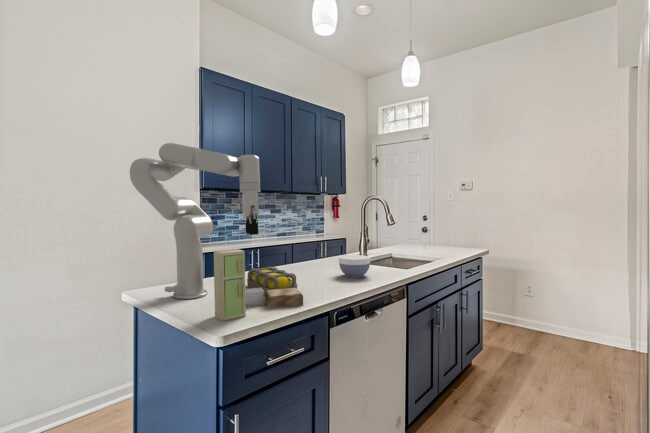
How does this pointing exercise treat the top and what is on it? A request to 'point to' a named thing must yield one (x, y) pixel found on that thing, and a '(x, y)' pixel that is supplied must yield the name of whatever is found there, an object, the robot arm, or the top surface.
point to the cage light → (270, 279)
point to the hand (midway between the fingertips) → (251, 233)
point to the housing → (254, 297)
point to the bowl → (354, 265)
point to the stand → (283, 297)
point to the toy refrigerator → (229, 284)
